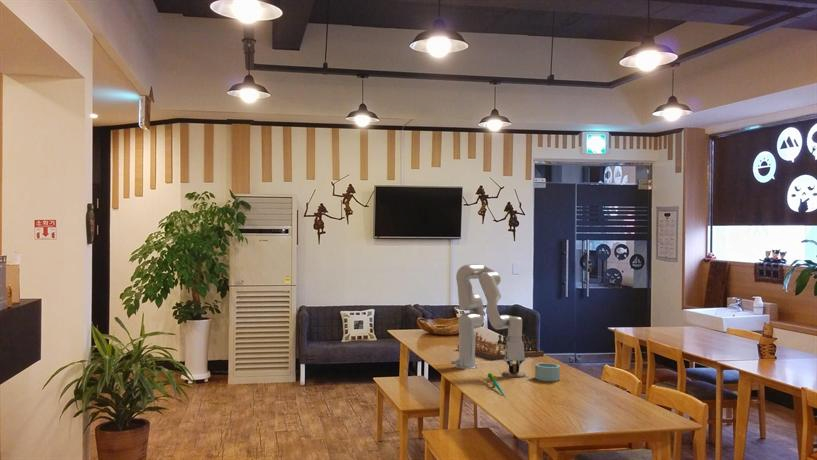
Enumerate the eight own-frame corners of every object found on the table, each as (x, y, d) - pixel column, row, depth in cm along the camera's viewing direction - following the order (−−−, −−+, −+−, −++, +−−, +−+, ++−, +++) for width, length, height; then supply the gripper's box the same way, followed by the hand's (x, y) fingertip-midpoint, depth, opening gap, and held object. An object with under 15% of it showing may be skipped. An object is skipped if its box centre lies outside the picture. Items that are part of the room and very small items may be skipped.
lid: (508, 378, 367) (508, 367, 367) (498, 373, 379) (499, 362, 379) (529, 377, 370) (529, 366, 370) (518, 372, 382) (519, 361, 382)
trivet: (508, 379, 367) (508, 378, 367) (499, 374, 378) (499, 373, 378) (528, 378, 371) (528, 377, 371) (518, 373, 382) (518, 372, 382)
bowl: (542, 383, 359) (542, 368, 359) (530, 377, 372) (531, 363, 371) (564, 382, 363) (564, 367, 363) (551, 376, 375) (552, 362, 375)
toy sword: (492, 368, 356) (508, 390, 327) (491, 380, 357) (507, 402, 328) (487, 369, 356) (502, 390, 326) (486, 380, 357) (501, 402, 327)
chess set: (492, 361, 419) (492, 337, 419) (457, 350, 454) (458, 328, 454) (543, 357, 437) (544, 334, 437) (506, 346, 473) (507, 325, 473)
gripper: (504, 340, 368) (503, 374, 368) (531, 340, 373) (530, 373, 373) (498, 338, 376) (497, 371, 376) (524, 337, 380) (524, 370, 381)
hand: (513, 372), depth 374 cm, fingers closed on lid, 2 cm apart
